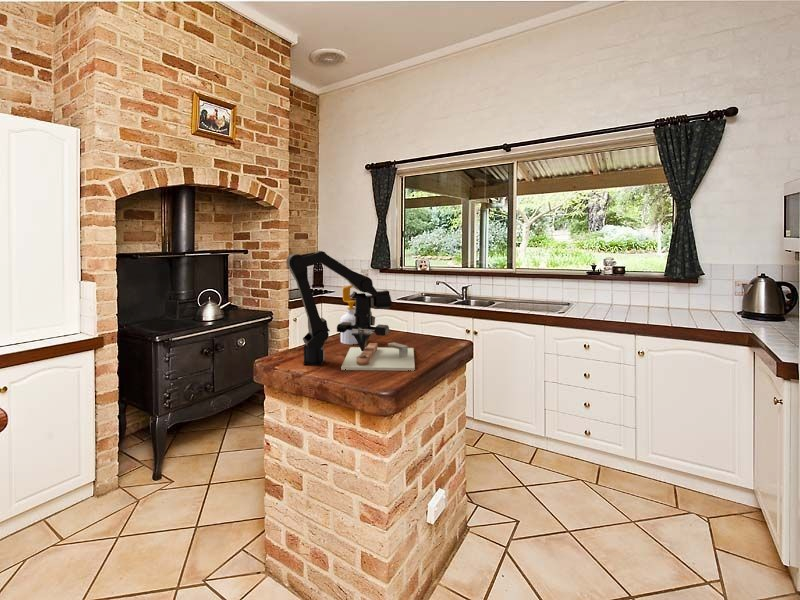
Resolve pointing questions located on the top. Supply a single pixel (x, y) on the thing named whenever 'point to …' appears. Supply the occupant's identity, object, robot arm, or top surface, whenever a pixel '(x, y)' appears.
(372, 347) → the link
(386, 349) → the base board
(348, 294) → the soap bottle
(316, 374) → the top surface
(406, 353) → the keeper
